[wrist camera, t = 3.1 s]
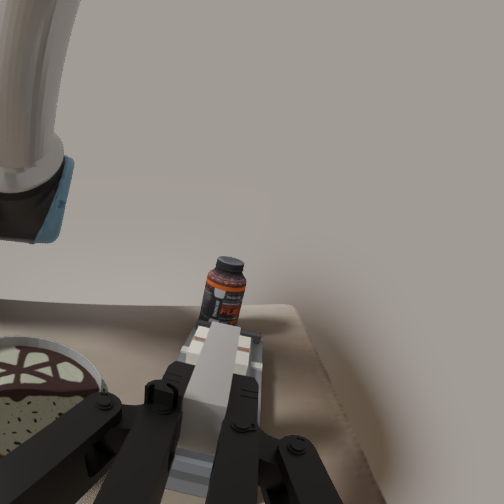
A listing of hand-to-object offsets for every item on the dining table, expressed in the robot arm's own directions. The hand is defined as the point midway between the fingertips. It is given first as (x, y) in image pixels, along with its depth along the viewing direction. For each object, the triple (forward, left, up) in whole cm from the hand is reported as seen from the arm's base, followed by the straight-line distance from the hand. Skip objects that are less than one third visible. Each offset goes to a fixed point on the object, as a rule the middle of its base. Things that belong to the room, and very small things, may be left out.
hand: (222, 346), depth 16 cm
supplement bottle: (-2, +31, -15) cm, 34 cm away
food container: (-13, -1, -15) cm, 20 cm away
